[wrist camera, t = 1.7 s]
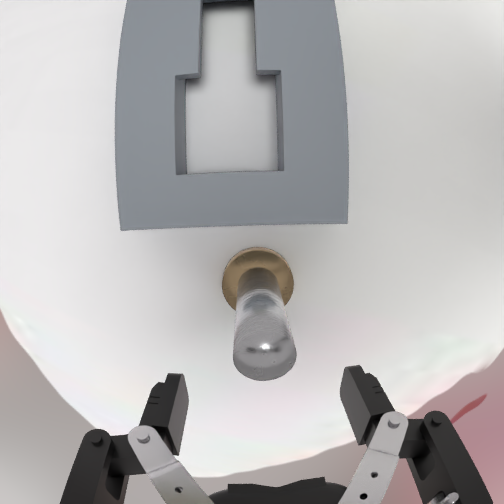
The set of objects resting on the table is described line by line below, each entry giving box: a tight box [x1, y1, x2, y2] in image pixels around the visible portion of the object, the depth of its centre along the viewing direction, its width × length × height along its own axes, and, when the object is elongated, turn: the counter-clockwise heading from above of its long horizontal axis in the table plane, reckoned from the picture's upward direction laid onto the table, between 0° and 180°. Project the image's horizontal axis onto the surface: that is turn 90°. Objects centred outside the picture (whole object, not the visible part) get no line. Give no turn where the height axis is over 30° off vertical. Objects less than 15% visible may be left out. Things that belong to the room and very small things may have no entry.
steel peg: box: [222, 247, 296, 381], centre depth 21 cm, size 6×6×12 cm
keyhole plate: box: [115, 0, 349, 231], centre depth 20 cm, size 18×26×4 cm
